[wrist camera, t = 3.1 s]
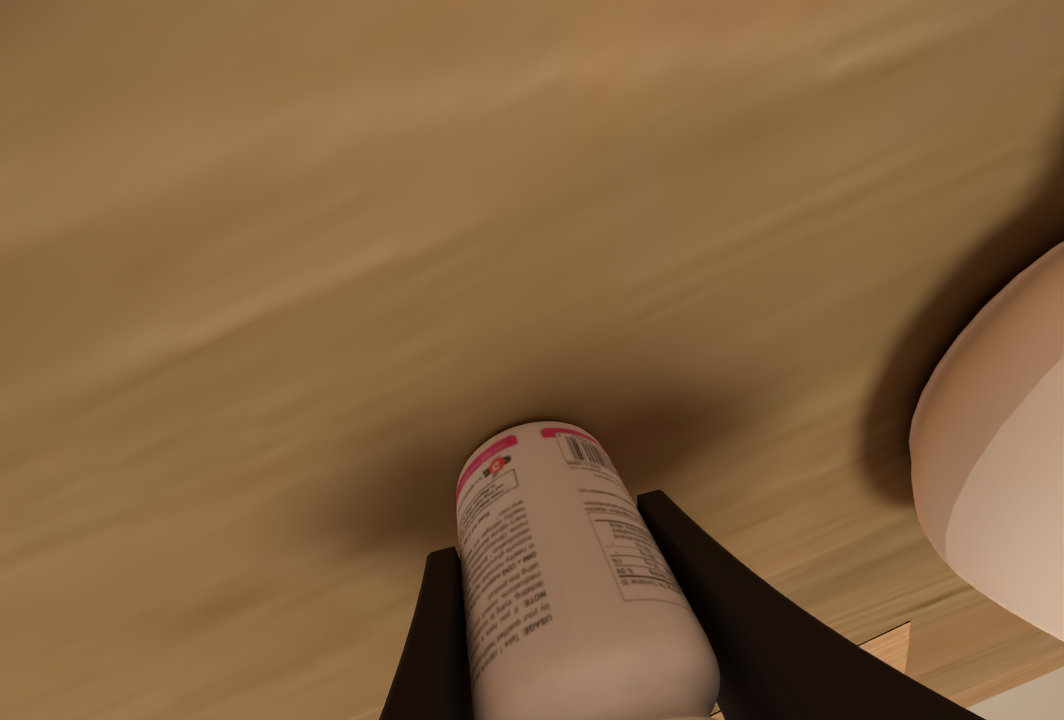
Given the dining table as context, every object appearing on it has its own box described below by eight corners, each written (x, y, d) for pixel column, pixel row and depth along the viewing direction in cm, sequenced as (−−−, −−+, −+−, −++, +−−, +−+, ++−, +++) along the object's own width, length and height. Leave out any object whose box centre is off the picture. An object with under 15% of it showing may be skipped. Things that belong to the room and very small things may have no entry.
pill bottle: (475, 548, 14) (525, 994, 7) (435, 441, 12) (447, 956, 4) (611, 508, 15) (790, 885, 7) (600, 397, 12) (853, 799, 5)
